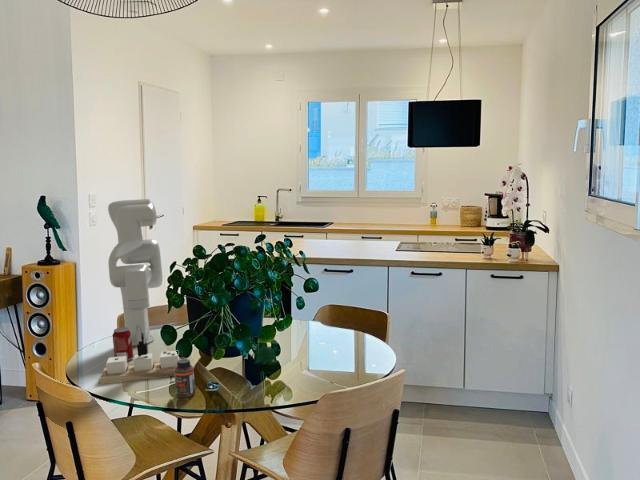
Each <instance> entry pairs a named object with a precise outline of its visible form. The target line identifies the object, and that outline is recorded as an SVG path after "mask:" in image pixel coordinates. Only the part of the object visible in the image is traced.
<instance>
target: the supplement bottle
mask: <svg viewBox="0 0 640 480" xmlns="http://www.w3.org/2000/svg"><path fill="white" fill-rule="evenodd" d="M177 366H178V367H176V368H175V376H174V381H175V394H176V396H177V397H178V398H181V399H184V398H185V399H187V398H190V397H191V398H192V397H193V396H194V395H196V385H195V383H196V382H195V381H196V380H195V370H194V367H193V365H191V359H189V358H185V359H180V360H178V361H177Z"/></svg>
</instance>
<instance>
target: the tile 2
mask: <svg viewBox="0 0 640 480" xmlns="http://www.w3.org/2000/svg"><path fill="white" fill-rule="evenodd" d="M153 356H154V355H153V353H152V352H151V353H149V352H148V353H147V355H138V354H135V355H134V356H133V362H132V363H134V371H135V372H136V371H145V370H153V369H152V368H153V361H154V357H153Z"/></svg>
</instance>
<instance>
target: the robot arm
mask: <svg viewBox="0 0 640 480" xmlns="http://www.w3.org/2000/svg"><path fill="white" fill-rule="evenodd" d="M107 211H108V214H109V218H110V220H111V222H112V224H113V226H114V227H115V229H116V232H117V242H118V243H117V244H116V245H115V246H114V247H113V249H112V250H111V252H110V254H109V256H108V257H109V258H108V275H109V282H110V285H112V286H113V287H114V288H119V289H120V294H121V300H122V309H123V317H124V320H123V321H124V327H127V328H129V331H130V332H131V337H132V347H137V348H136V349H137V355H147V354H149V352H148V344H150V343H152V342H154V341H155V337H154V335H151V334H150V324H149V313H148V311H149V309H148V308H150V306H151V305H150V295H149V289H155V288H160V287H161V286H162V284H163V269H162V257H161V256H162V255H161V249H160V246H159V243H158V241H157V240H155V239H151V238H150V239H144V238H143V232H142V231H143V230H142V227H151V226H152V227H153V226H155V225H156V222H157V217H158V216H157V209H156V207H155V204H154V202H153V200H152V199H150V198H145V199H143V198H140V199H126V200H125V199H124V200H115V201H113V202H111V203H109V204H108V207H107ZM119 260H120V261H121V263H122V264H125V265H119V266H117V262H118V261H119ZM146 263H148V264H149V265H147V264H146Z"/></svg>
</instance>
